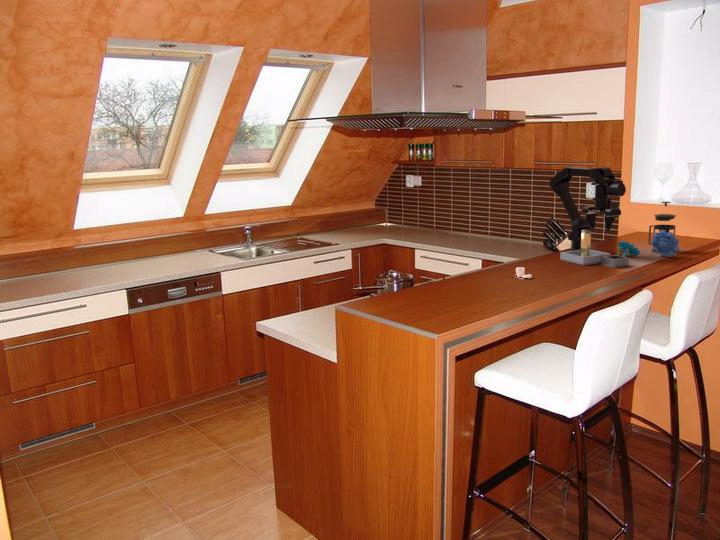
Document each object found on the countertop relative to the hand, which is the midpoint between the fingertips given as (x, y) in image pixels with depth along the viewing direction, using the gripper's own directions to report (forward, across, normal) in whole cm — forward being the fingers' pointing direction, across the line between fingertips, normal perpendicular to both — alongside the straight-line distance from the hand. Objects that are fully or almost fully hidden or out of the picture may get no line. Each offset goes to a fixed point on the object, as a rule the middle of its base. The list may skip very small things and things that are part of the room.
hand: (600, 229), depth 275 cm
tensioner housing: (+12, -20, +10) cm, 25 cm away
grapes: (+12, -18, -20) cm, 29 cm away
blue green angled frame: (+12, -8, -9) cm, 17 cm away
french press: (+12, -7, -30) cm, 33 cm away
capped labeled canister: (+11, -5, +13) cm, 18 cm away
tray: (+12, -6, +13) cm, 19 cm away
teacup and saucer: (+13, -20, +58) cm, 62 cm away
